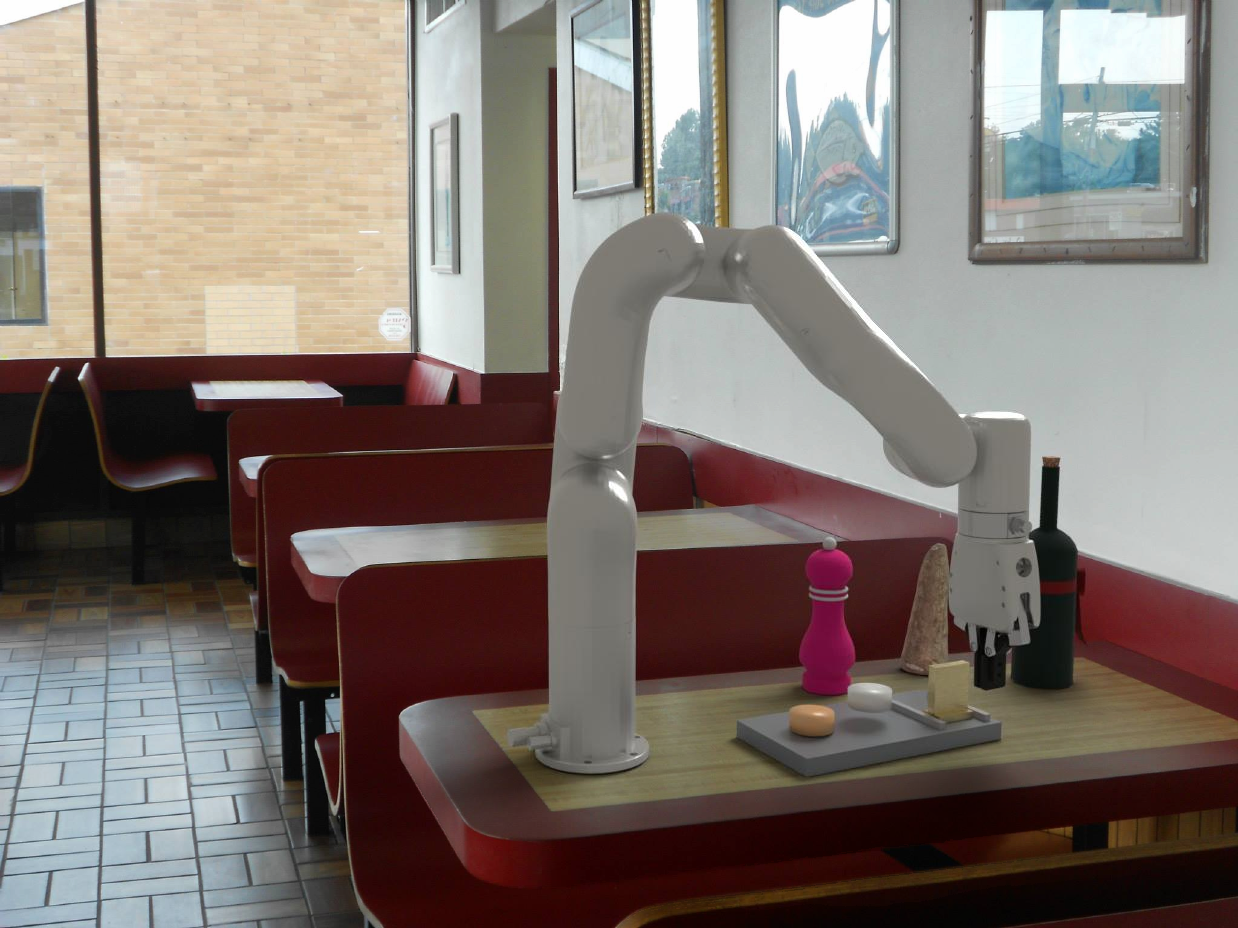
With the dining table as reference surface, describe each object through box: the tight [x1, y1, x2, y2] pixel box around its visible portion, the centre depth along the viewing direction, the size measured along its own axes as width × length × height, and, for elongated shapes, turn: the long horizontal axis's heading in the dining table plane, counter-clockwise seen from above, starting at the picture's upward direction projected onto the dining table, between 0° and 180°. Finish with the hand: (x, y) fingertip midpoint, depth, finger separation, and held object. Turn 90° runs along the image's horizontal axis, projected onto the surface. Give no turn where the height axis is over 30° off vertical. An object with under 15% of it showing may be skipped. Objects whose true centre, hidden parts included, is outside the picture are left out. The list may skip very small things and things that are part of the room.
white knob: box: [846, 682, 893, 713], centre depth 145 cm, size 5×5×2 cm
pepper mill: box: [798, 536, 856, 696], centre depth 164 cm, size 7×7×20 cm
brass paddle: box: [922, 659, 973, 723], centre depth 146 cm, size 5×3×6 cm, turn 116°
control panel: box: [736, 689, 1003, 778], centre depth 145 cm, size 27×14×3 cm, turn 116°
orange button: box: [788, 704, 835, 736], centre depth 142 cm, size 5×5×2 cm
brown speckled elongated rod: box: [900, 542, 950, 676], centre depth 172 cm, size 6×18×6 cm
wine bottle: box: [1010, 455, 1088, 690], centre depth 167 cm, size 8×10×30 cm
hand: (989, 686), depth 141 cm, fingers closed
